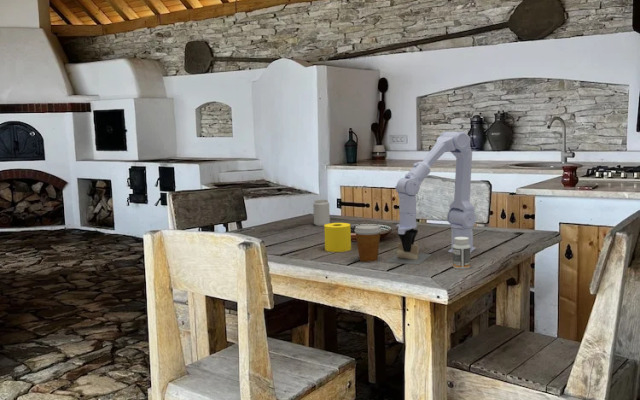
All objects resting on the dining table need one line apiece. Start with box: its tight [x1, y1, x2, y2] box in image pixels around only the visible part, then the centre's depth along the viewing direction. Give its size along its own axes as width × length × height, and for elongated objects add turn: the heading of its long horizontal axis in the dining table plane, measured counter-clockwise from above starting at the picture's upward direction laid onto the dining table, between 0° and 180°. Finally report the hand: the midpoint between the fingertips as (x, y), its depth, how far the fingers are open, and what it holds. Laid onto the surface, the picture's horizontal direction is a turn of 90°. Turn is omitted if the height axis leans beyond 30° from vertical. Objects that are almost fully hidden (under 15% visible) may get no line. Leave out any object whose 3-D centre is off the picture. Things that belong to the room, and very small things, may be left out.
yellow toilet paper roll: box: [323, 222, 352, 253], centre depth 236 cm, size 10×10×9 cm
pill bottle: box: [452, 237, 472, 270], centre depth 201 cm, size 6×6×10 cm
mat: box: [385, 252, 433, 266], centre depth 216 cm, size 16×12×1 cm
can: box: [312, 199, 331, 227], centre depth 290 cm, size 8×8×12 cm
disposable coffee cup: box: [354, 223, 382, 263], centre depth 216 cm, size 10×10×12 cm
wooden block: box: [396, 242, 419, 260], centre depth 215 cm, size 2×7×5 cm, turn 63°
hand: (408, 251), depth 215 cm, fingers closed on wooden block, 2 cm apart
